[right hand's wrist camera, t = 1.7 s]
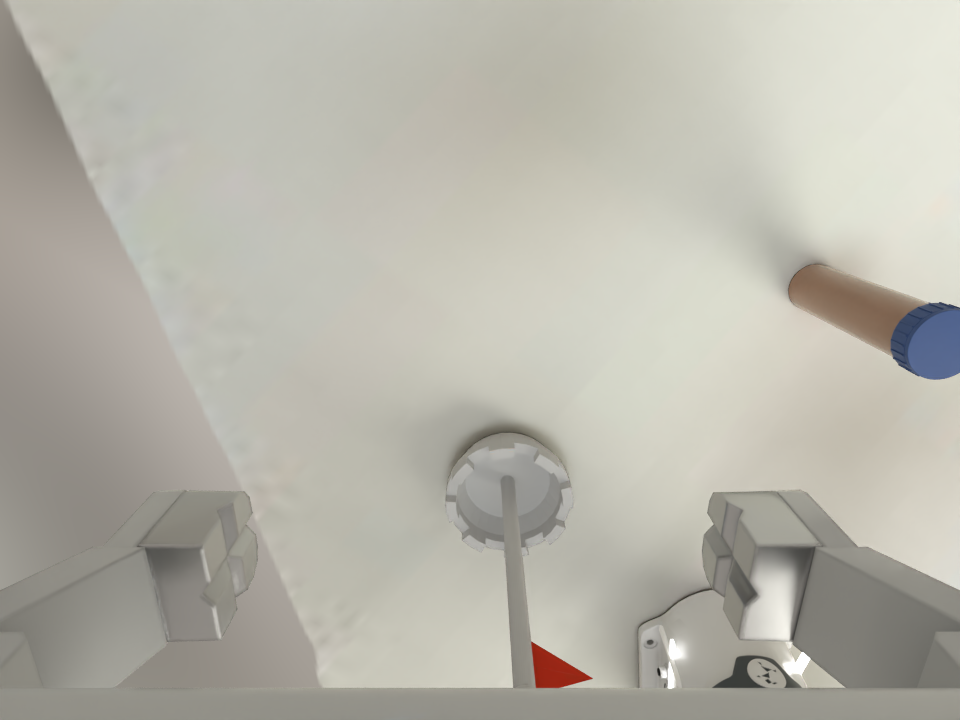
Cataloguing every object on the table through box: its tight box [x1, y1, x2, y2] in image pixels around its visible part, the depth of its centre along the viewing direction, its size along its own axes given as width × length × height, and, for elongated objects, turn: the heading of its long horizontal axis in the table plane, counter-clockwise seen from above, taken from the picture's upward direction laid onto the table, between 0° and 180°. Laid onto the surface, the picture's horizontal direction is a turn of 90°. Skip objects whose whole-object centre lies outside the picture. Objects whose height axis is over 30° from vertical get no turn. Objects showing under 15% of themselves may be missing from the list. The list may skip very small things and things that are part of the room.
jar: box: [789, 264, 929, 357], centre depth 50 cm, size 5×5×17 cm
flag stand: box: [445, 433, 593, 688], centre depth 51 cm, size 13×13×30 cm
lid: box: [890, 302, 960, 380], centre depth 42 cm, size 5×5×2 cm
